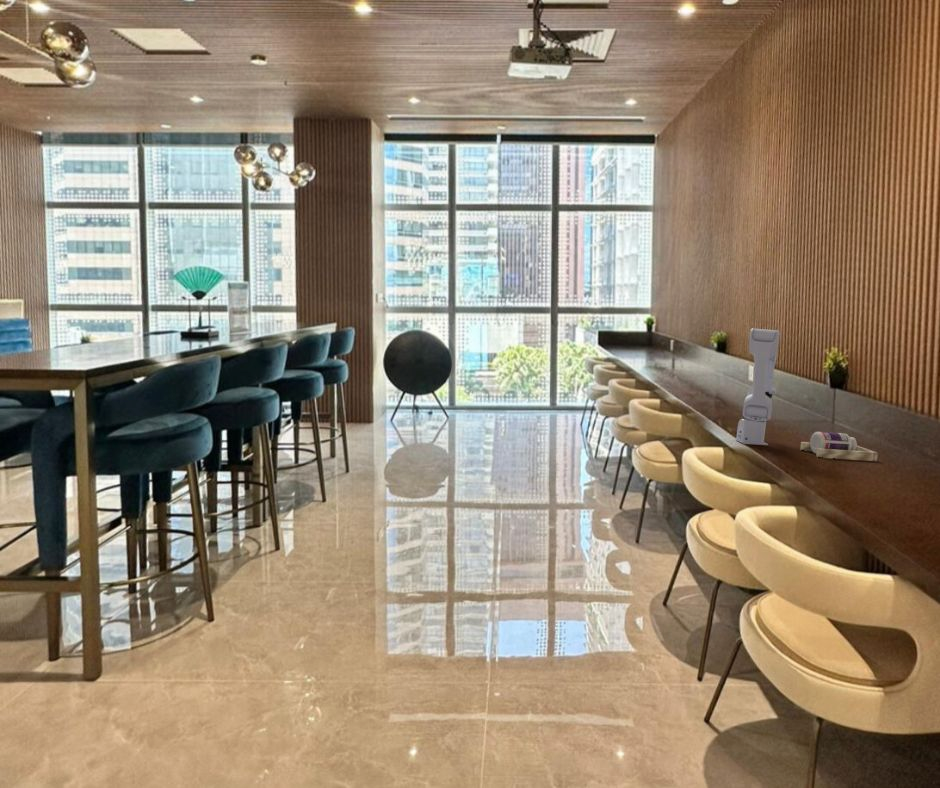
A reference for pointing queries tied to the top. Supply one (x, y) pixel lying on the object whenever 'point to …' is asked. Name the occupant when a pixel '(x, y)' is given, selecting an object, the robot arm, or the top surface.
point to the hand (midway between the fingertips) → (760, 411)
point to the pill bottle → (832, 441)
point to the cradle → (843, 453)
